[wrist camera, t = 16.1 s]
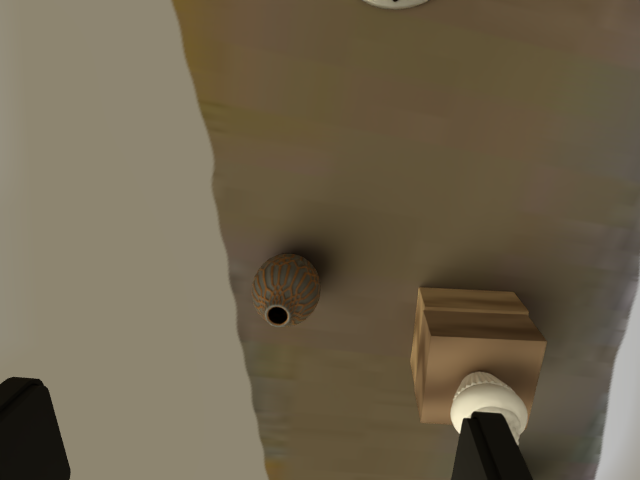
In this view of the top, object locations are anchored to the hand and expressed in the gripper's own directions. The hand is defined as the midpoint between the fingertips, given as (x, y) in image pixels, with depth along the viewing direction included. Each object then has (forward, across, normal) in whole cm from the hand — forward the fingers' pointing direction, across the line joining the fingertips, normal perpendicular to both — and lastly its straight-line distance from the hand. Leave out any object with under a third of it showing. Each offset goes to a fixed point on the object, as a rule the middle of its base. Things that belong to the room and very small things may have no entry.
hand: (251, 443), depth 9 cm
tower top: (+29, -15, +18) cm, 37 cm away
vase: (+34, +4, +12) cm, 36 cm away
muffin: (+25, -15, +18) cm, 34 cm away
